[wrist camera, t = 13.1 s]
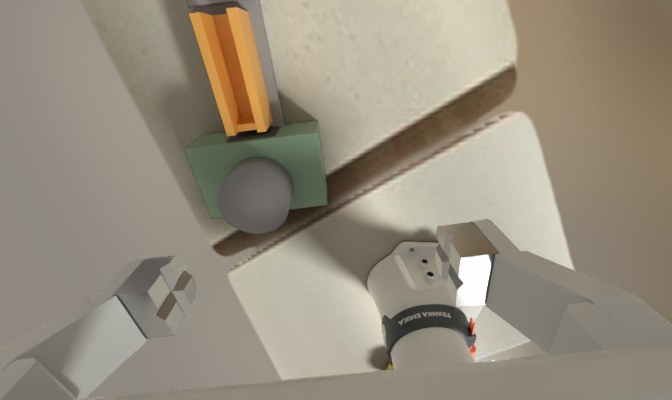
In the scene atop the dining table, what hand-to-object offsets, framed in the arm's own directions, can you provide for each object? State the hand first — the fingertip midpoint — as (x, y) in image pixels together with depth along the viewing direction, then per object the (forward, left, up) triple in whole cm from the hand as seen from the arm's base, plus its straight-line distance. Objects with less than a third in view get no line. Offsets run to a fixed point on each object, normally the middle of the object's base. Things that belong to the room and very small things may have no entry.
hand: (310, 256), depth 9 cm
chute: (+9, -4, -31) cm, 32 cm away
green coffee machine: (+9, +1, -32) cm, 33 cm away
